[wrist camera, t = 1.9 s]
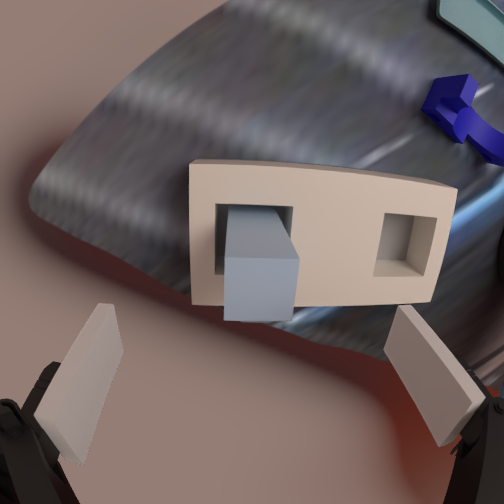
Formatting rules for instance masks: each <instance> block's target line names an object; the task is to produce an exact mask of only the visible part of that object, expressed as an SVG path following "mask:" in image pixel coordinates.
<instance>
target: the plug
mask: <svg viewBox="0 0 504 504" xmlns="http://www.w3.org/2000/svg"><path fill="white" fill-rule="evenodd" d="M299 263H300V258H299V256H298V254H297V252H296V250H295V248H294V246H293V244H292V242H291V240H290V238H289V236H288V234H287V232H286V230H285V228H284V226H283V224H282V222H281V220H280V218H279V216H278V214H277V212H276V210H275V208H274V206H259V205H229V210H228V222H227V234H226V247H225V271H224V320H230V321H231V320H232V321H241V322H272V321H292V316H293V309H294V302H295V294H296V287H297V279H298V271H299Z"/></svg>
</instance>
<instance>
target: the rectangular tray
mask: <svg viewBox="0 0 504 504" xmlns="http://www.w3.org/2000/svg"><path fill="white" fill-rule="evenodd" d="M436 16H437V18H438V19H439V20H441V21H443V22H444V23H446V24H447V25H449V26H450V27H451V28H453V29H454V30H456V31H457V32H459V33H460V34H461V35H463V36H464V37H465V38H467V39H468V40H469V41H471V42H472V43H473V44H475V45H476V46H477V47H478V48H480V49H481V50H482V51H483V52H485V53H486V54H487V55H488V56H490V57H491V58H492V59H493V60H494V61H495V62H497V63H498V64H499V65H500V66H501V67H502V68H503V69H504V13H503V12H502V11H501V10H500V9H499V8H498V7H496V6H495V5H494V4H493V3H492V2H491V1H490V0H437V7H436Z"/></svg>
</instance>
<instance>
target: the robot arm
mask: <svg viewBox="0 0 504 504" xmlns="http://www.w3.org/2000/svg"><path fill="white" fill-rule="evenodd" d="M498 268H499V274H500V277H501V280H502V281H503V283H504V232H503V236H502V239H501V244H500V249H499V257H498ZM384 352H385V353H386V355H387V357H388V358H389V360H390V362H391V363H392V365H393V366H394V368H395V370H396V372H397V373H398V375H399V376H400V378H401V380H402V382H403V383H404V385H405V387H406V389H407V390H408V392H409V394H410V396H411V397H412V399H413V401H414V402H415V404H416V406H417V408H418V410H419V412H420V413H421V415H422V417H423V419H424V421H425V422H426V424H427V426H428V428H429V430H430V432H431V433H432V435H433V437H434V439H435V441H436V443H437V445H438V447H441V446H444V445H446V444H449V443H451V442H453V441H454V440H455V438H456V437H457V436H458V434H459V433H460V435H461V436H462V439H461V440H460V441H459V443H458V444H457V445H456V446H455V447H454V448H453V450H452V451H451V453H450V454H453V453H454V452H455V451H456V450H457V449H458V450H457V454H456V455H455V456H456V459H455V463H454V468H453V471H452V475H451V479H450V482H449V486H448V489H447V493H446V496H445V499H444V502H443V504H504V382H503V384H502V385H501V388H500V391H499V397H495V398H493V397H492V396H491V394H490V393H489V392H488V391H487V389H486V387H485V386H484V385H483V384H482V382H481V381H480V380H479V378H478V377H477V376H476V375H475V373H474V372H473V371H472V370H471V368H470V367H469V366H468V364H467V363H466V362H465V361H464V360H462V359H461V358H460V357H458V356H457V355H453V354H452V353H451V352H450V350H449V349H448V348H447V347H446V346H445V344H444V343H443V342H442V341H441V340H440V338H439V337H438V336H437V335H436V334H435V332H434V331H433V330H432V329H431V328H430V326H429V325H428V324H427V323H426V322H425V321H424V319H423V318H422V317H421V316H420V315H419V314H418V313H417V311H416V310H415V309H414V308H413V307H412V306H411V305H399V306H398V308H397V311H396V314H395V317H394V320H393V324H392V327H391V330H390V333H389V335H388V338H387V341H386V344H385V347H384ZM123 353H124V350H123V346H122V341H121V337H120V333H119V328H118V323H117V319H116V314H115V309H114V304H104V303H98V305H97V306H96V308H95V309H94V311H93V312H92V314H91V315H90V317H89V318H88V320H87V322H86V323H85V325H84V326H83V328H82V330H81V331H80V333H79V335H78V336H77V338H76V339H75V341H74V343H73V344H72V346H71V348H70V349H69V351H68V353H67V354H66V356H65V358H64V360H63V361H62V363H59V362H54V361H53V362H52V363H51V364H49V365H48V366H47V367H46V368H45V369H44V370H43V372H42V373H41V375H40V377H39V380H37V382H36V383H35V385H34V388H33V389H32V390H31V392H30V394H29V396H28V398H27V399H26V401H25V403H24V405H23V407H22V409H20V408H19V406H18V405H17V403H16V402H14V401H13V400H11V399H1V400H0V504H80V503H79V501H78V499H77V497H76V496H75V494H74V492H73V490H72V488H71V486H70V484H69V482H68V480H67V478H66V476H65V474H64V472H63V469H62V467H61V465H60V463H59V462H58V460H57V459H58V457H59V453H60V454H61V455H62V456H63V457H64V459H65V460H66V461H69V462H73V463H76V464H80V465H84V464H85V461H86V458H87V454H88V451H89V448H90V445H91V442H92V438H93V436H94V433H95V429H96V427H97V424H98V421H99V418H100V414H101V412H102V409H103V406H104V403H105V400H106V398H107V395H108V392H109V390H110V386H111V384H112V382H113V379H114V376H115V373H116V371H117V368H118V366H119V363H120V361H121V358H122V356H123Z"/></svg>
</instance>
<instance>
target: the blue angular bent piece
mask: <svg viewBox="0 0 504 504" xmlns="http://www.w3.org/2000/svg"><path fill="white" fill-rule="evenodd" d="M478 85H479V84H478V83H477V82H476V81H475V80H474V79H473V78H472V76H471V75H470V74H465V75H457V76H449V77H442V78H436V79H435V81H434V83H433V85H432V87H431V89H430V91H429V93H428V96H427V98H426V100H425V102H424V104H423V106H422V108H421V110H422V111H423V112H424V113H425V114H426V115H428V116H429V117H430V118H431V119H432V120H433V121H434V122H435V123H436V124H437V125H438V126H440V127H441V128H442V129H443V130H444V131H445V132H446V133H447V134H448V135H449V136H450V137H451V138H452V139H453V140H454V141H455V142H456V143H461V144H463V143H464V140H465V138H466V139H467V140H468V141H469V142H470V143H471V144H472V145H473V146H474V147H475V148H476V150H477V151H478V152H479V153H480V154H481V155H482V157H483V158H484V159H485V160H486V161H487V162H488V163H491V164H495V165H499V166H502V167H504V134H502V133H500V132H499V131H497V130H495V129H494V128H493V127H491V126H490V125H489V124H487V123H486V122H485V121H484V120H483V119H482V118H481V117H480V116H479V115H478V114H477V113H476V112H475V111H474V109H473V108H472V107H471V103H472V100H473V98H474V95H475V93H476V90H477V88H478Z"/></svg>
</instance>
